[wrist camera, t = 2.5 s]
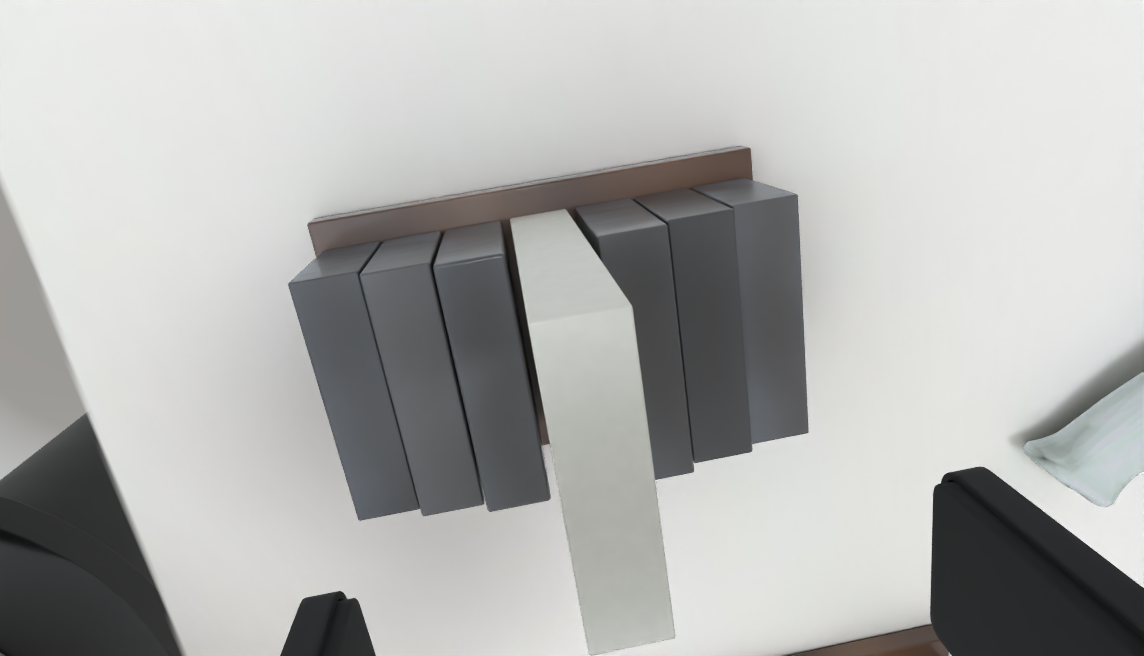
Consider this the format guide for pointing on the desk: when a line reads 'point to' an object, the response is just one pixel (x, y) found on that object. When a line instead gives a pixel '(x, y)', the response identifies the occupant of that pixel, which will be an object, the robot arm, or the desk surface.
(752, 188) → the grey book row
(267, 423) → the desk surface
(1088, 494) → the tape dispenser
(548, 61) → the desk surface
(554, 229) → the white book
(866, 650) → the leaning book row
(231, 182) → the desk surface
